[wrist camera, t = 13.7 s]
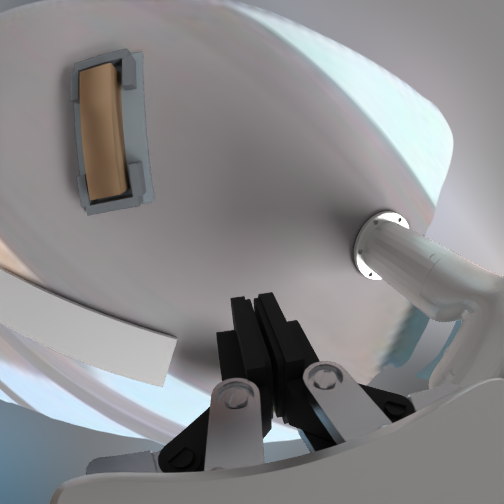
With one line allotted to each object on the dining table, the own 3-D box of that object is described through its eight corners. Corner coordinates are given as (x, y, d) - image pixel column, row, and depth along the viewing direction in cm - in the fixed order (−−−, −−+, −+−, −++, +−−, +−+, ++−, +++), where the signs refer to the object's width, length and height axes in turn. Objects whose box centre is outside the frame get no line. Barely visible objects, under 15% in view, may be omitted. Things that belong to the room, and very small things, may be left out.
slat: (120, 72, 26) (110, 62, 22) (130, 187, 33) (120, 194, 28) (93, 80, 26) (79, 72, 21) (102, 193, 32) (90, 200, 27)
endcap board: (142, 53, 27) (137, 44, 23) (154, 200, 35) (150, 206, 31) (76, 71, 25) (65, 65, 22) (88, 212, 33) (79, 219, 30)
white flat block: (12, 264, 35) (6, 312, 35) (-1, 268, 30) (-5, 320, 30) (175, 328, 46) (161, 373, 46) (177, 339, 42) (162, 387, 42)
